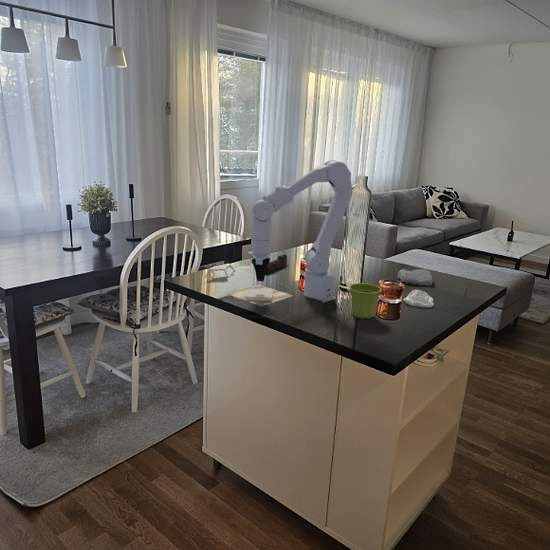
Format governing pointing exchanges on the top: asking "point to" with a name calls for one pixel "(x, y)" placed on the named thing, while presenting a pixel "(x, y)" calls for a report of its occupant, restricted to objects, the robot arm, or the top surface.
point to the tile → (259, 295)
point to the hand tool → (277, 263)
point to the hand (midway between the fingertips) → (260, 280)
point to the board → (276, 297)
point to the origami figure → (220, 268)
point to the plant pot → (364, 299)
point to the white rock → (419, 299)
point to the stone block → (416, 277)
